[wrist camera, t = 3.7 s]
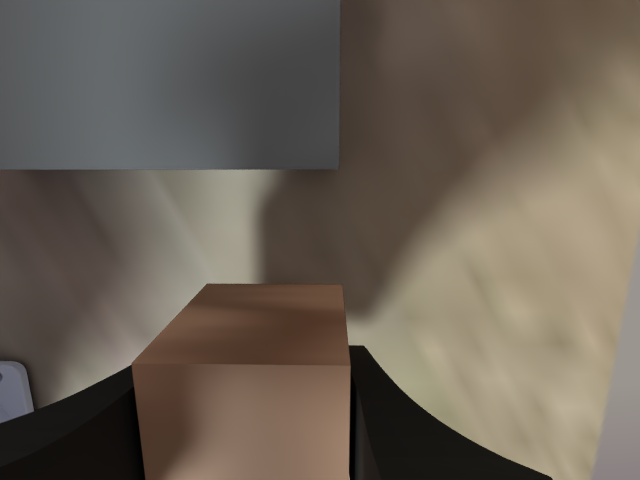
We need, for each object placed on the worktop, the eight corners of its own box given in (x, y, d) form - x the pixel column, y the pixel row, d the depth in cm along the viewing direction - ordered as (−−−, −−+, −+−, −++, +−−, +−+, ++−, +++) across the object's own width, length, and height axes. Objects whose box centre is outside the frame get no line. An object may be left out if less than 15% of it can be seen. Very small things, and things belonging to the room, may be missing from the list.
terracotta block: (215, 402, 14) (152, 539, 9) (206, 283, 13) (131, 363, 8) (341, 404, 14) (347, 543, 9) (342, 284, 13) (350, 365, 8)
